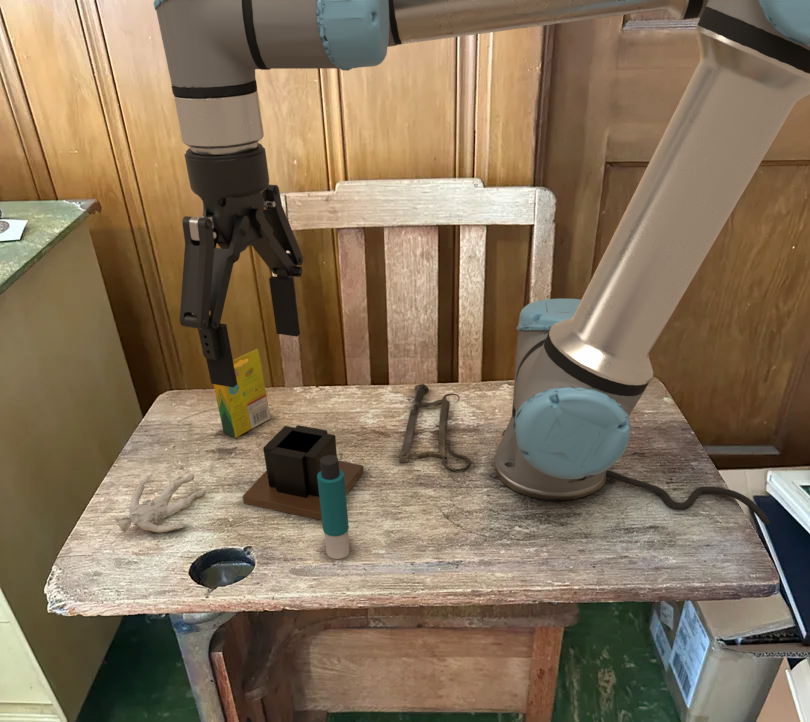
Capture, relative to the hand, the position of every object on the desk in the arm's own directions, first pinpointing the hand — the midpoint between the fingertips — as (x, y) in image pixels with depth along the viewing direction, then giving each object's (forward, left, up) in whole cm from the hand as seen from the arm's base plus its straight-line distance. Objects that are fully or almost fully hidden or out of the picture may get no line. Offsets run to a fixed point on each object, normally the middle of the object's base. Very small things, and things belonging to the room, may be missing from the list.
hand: (258, 357), depth 84 cm
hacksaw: (-12, -27, -22) cm, 37 cm away
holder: (0, -6, -21) cm, 22 cm away
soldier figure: (+14, +6, -22) cm, 26 cm away
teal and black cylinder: (-10, +5, -21) cm, 24 cm away
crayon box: (+16, -18, -22) cm, 33 cm away
